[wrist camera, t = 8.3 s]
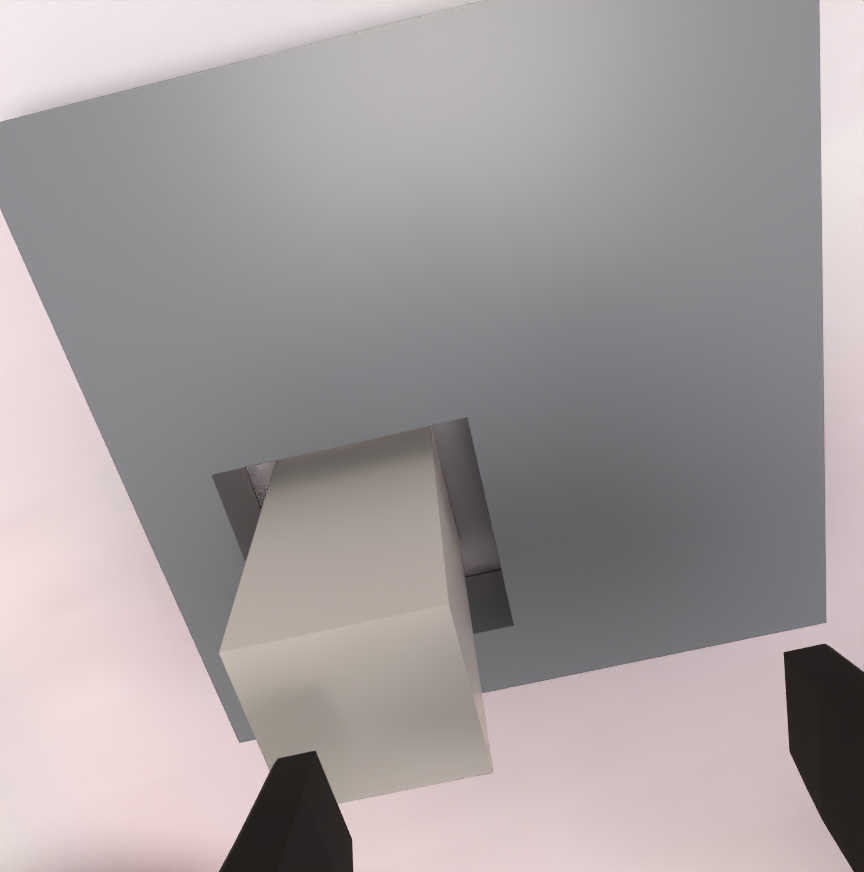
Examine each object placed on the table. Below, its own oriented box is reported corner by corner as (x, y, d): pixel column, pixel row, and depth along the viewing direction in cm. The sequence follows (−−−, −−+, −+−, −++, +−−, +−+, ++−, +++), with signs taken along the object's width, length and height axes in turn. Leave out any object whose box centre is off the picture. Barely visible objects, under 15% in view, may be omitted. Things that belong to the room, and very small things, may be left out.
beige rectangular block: (459, 542, 22) (493, 772, 15) (321, 572, 22) (288, 813, 15) (428, 415, 20) (448, 604, 13) (279, 448, 21) (218, 652, 13)
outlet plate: (783, 567, 23) (826, 622, 21) (253, 679, 24) (239, 743, 21) (758, -63, 16) (818, -85, 14) (22, 122, 17) (-35, 130, 15)
